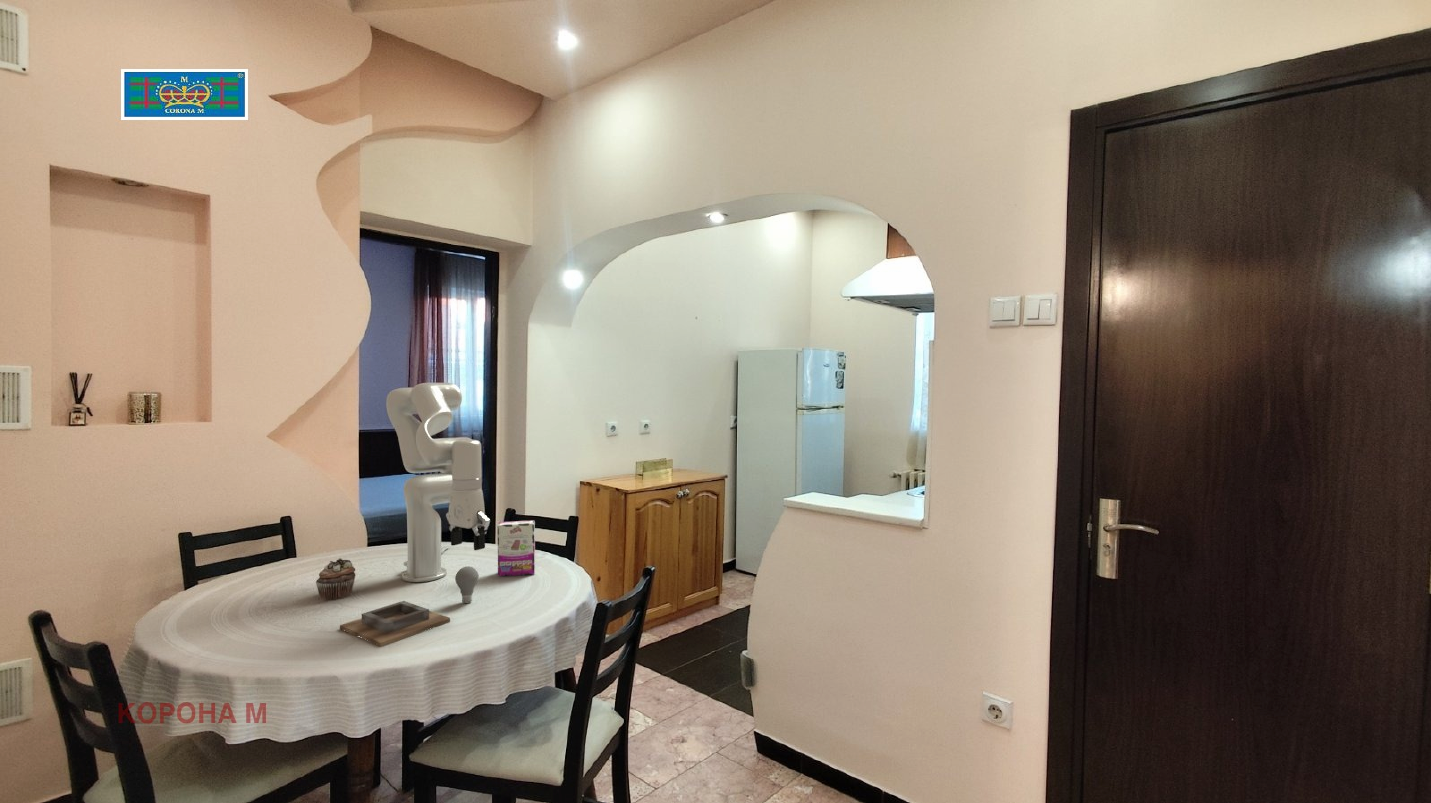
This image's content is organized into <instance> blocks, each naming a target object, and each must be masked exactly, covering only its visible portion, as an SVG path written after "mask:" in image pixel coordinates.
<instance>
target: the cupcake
mask: <svg viewBox="0 0 1431 803" xmlns="http://www.w3.org/2000/svg"><path fill="white" fill-rule="evenodd" d="M355 571H356V568H355V567H354V566H353V563H352V561H351V560H349V559H342V558H338V559H337V560H336V561H332V560H330V561H329V563H327V564H326V565H325V566H324V569H323V570H321V571H320V572H319V574H318V578H317V579H316V581H315V584H316V587H317V588H316V589H317V592H318V596H319V599H320V600H323V601H335V600H336V599H337V600H342V599H345V598H348V597H349V596H348V595H350V594H351V593H353V588H354V584H355V578H356V572H355ZM351 595H352V594H351ZM351 595H350V596H351ZM344 597H345V598H344ZM341 598H342V599H341Z"/></svg>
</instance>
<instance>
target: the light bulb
mask: <svg viewBox="0 0 1431 803" xmlns="http://www.w3.org/2000/svg"><path fill="white" fill-rule="evenodd" d="M454 578H455V583H456V584H457V587H458V588H459V590H460V594H461V599H462V600H461V602H462V603H464V604H468V603H471V602H472V601H473V592H474V590H475V586H476V585H477V583H478V581H479V572H478V570H477V569H476V568H474V567H473V566H467V565H466V566H463V567H461V568H459V569H458V571H457V572H456V573H455V577H454Z"/></svg>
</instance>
